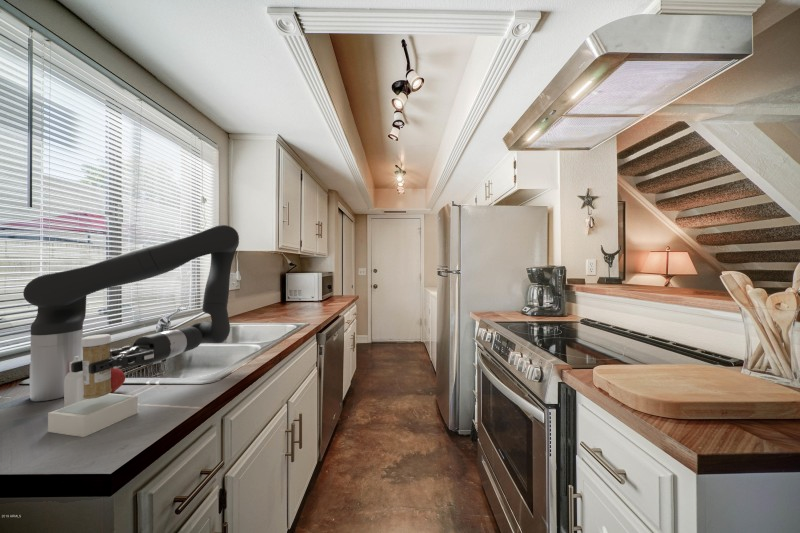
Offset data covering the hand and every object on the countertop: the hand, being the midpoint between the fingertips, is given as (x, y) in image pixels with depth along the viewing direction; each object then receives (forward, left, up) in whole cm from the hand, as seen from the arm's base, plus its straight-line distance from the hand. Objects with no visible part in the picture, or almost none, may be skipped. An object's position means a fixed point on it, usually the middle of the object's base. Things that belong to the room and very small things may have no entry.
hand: (81, 368), depth 62 cm
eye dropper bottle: (-16, +9, -13) cm, 22 cm away
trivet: (0, +3, -13) cm, 13 cm away
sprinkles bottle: (0, +3, -7) cm, 8 cm away
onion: (-14, +15, -13) cm, 24 cm away
